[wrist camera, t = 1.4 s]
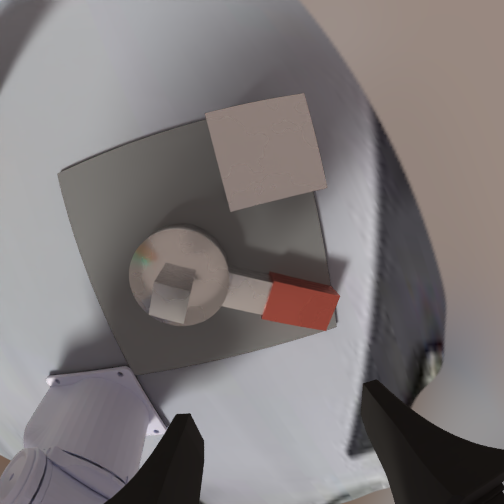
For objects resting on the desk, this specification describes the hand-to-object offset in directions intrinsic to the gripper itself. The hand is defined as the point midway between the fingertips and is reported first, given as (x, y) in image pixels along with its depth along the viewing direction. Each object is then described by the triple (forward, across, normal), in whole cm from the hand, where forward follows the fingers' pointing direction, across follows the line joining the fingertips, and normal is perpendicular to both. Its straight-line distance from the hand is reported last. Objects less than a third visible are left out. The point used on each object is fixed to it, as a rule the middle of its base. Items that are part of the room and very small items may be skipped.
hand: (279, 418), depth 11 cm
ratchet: (+10, +1, -2) cm, 10 cm away
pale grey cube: (+10, -1, -10) cm, 14 cm away
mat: (+10, +3, -5) cm, 12 cm away
